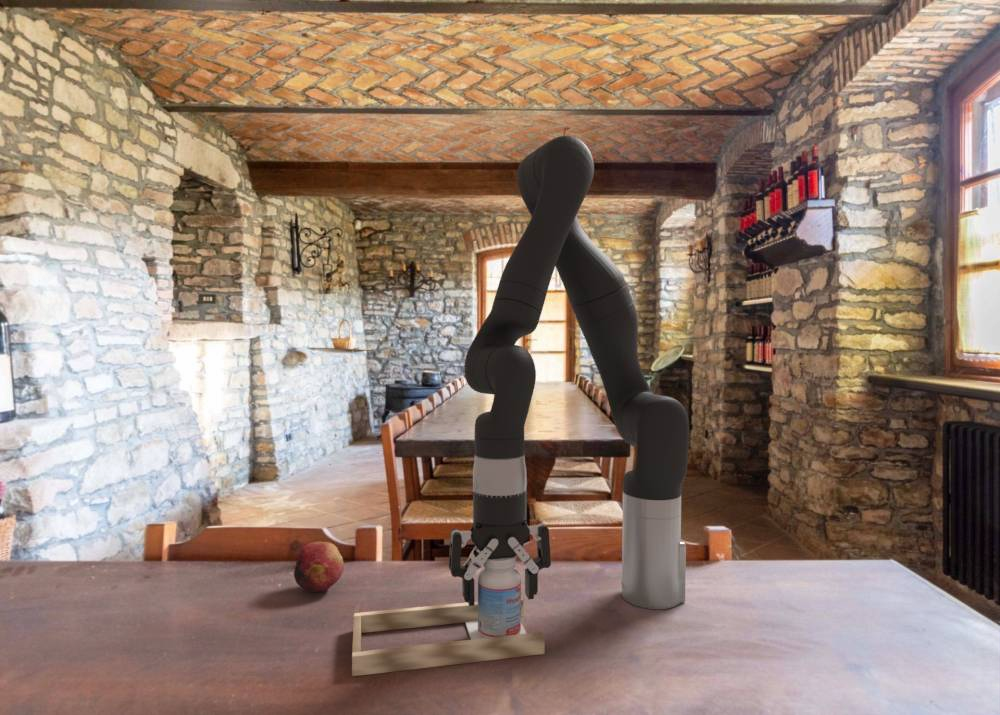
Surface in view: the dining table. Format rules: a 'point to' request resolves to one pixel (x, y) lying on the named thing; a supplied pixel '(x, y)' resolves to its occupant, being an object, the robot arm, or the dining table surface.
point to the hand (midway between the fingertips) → (500, 600)
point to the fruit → (318, 566)
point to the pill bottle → (499, 598)
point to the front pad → (473, 629)
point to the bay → (439, 651)
